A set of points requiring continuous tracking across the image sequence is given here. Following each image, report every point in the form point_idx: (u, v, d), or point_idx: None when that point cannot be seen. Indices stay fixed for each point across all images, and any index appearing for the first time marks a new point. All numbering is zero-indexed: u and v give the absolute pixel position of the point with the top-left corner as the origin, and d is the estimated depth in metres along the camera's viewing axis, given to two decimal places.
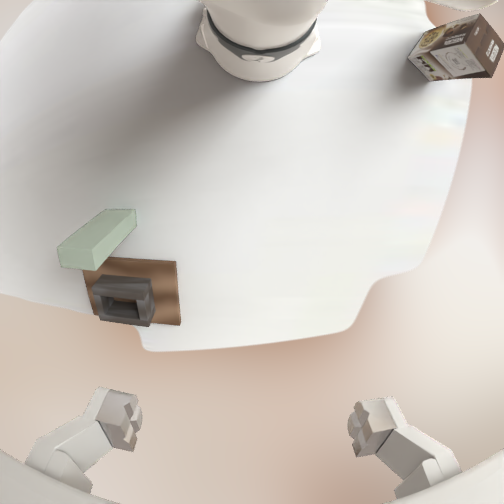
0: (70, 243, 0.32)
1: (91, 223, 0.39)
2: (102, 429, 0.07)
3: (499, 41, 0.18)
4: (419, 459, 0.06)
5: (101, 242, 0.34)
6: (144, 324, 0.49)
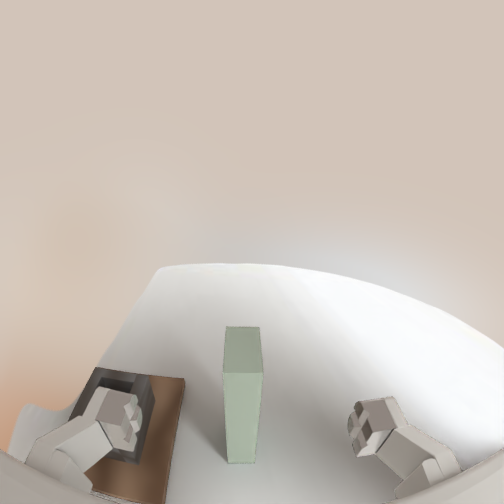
0: None
1: None
2: (102, 429, 0.07)
3: None
4: (419, 459, 0.06)
5: (257, 396, 0.21)
6: None
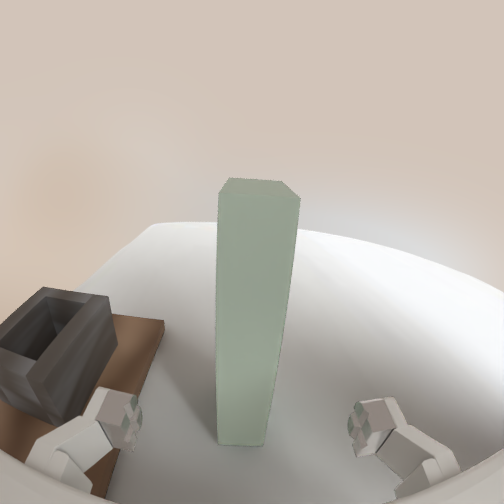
0: None
1: None
2: (102, 429, 0.07)
3: None
4: (419, 459, 0.06)
5: (284, 270, 0.11)
6: None
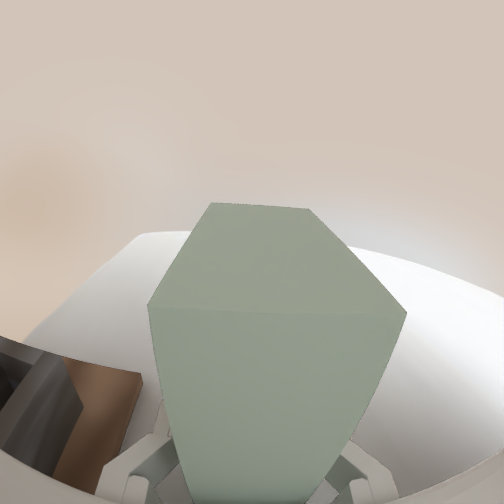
0: None
1: None
2: (174, 444, 0.07)
3: None
4: (352, 476, 0.06)
5: (331, 446, 0.04)
6: None
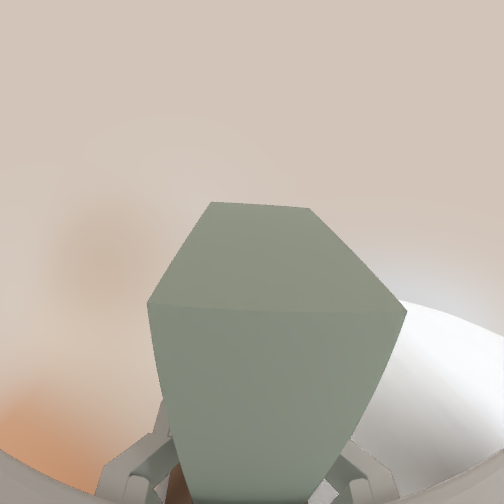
0: None
1: None
2: (174, 444, 0.07)
3: None
4: (352, 476, 0.06)
5: (330, 446, 0.04)
6: None
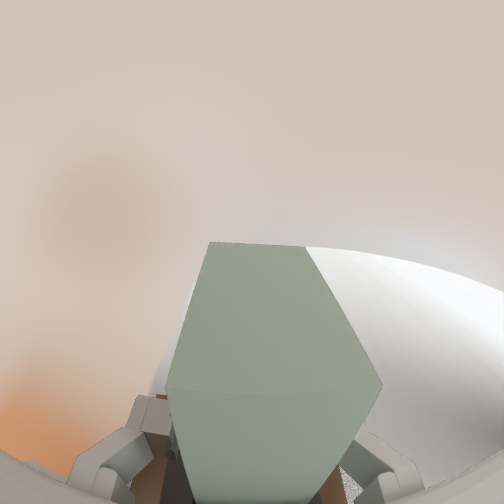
0: None
1: None
2: (146, 439, 0.07)
3: None
4: (378, 470, 0.06)
5: (319, 473, 0.04)
6: None
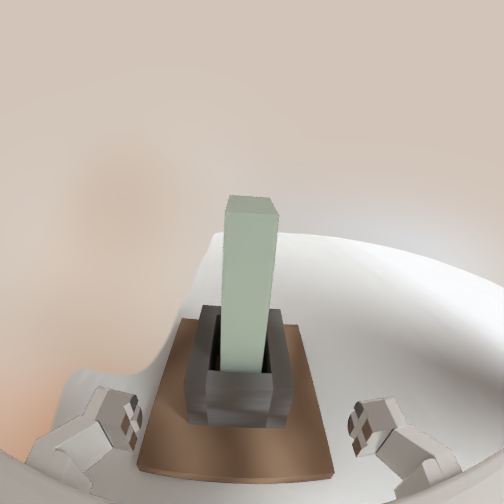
0: None
1: None
2: (102, 429, 0.07)
3: None
4: (419, 458, 0.06)
5: (269, 263, 0.17)
6: (192, 375, 0.18)
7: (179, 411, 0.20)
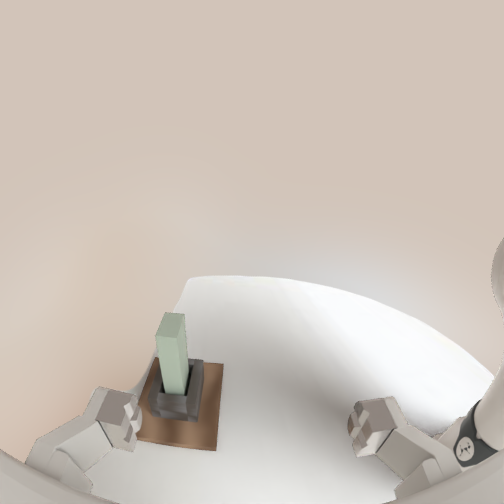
0: (183, 327, 0.40)
1: (186, 361, 0.43)
2: (102, 429, 0.07)
3: None
4: (419, 459, 0.06)
5: (176, 354, 0.36)
6: (151, 394, 0.38)
7: (148, 410, 0.40)
